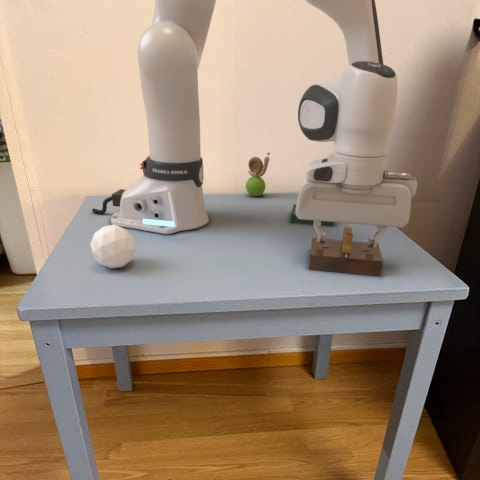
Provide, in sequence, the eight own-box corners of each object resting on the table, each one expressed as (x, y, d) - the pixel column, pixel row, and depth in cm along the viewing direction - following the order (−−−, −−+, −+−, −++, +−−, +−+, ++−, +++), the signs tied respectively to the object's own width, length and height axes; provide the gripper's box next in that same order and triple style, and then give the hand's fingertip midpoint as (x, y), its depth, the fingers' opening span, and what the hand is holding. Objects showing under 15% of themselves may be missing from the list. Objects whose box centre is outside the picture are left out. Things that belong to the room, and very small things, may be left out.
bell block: (290, 223, 107) (291, 206, 105) (293, 212, 114) (294, 197, 112) (333, 226, 106) (335, 209, 104) (333, 215, 113) (335, 200, 111)
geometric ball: (107, 276, 86) (90, 238, 86) (146, 260, 86) (129, 221, 86) (95, 274, 79) (77, 231, 78) (138, 256, 79) (119, 213, 78)
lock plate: (308, 269, 85) (310, 253, 83) (310, 251, 93) (312, 236, 91) (379, 276, 83) (383, 260, 81) (376, 257, 91) (378, 242, 89)
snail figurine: (261, 200, 122) (264, 154, 116) (241, 196, 125) (243, 151, 119) (271, 196, 126) (274, 151, 120) (251, 192, 129) (253, 148, 123)
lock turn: (341, 243, 88) (344, 225, 86) (349, 244, 88) (351, 225, 86) (342, 252, 84) (345, 233, 82) (350, 253, 84) (353, 234, 82)
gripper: (417, 169, 80) (400, 243, 87) (300, 162, 83) (294, 234, 90) (422, 178, 75) (405, 256, 82) (298, 169, 77) (291, 245, 84)
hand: (346, 244), depth 86 cm, fingers open, 8 cm apart
